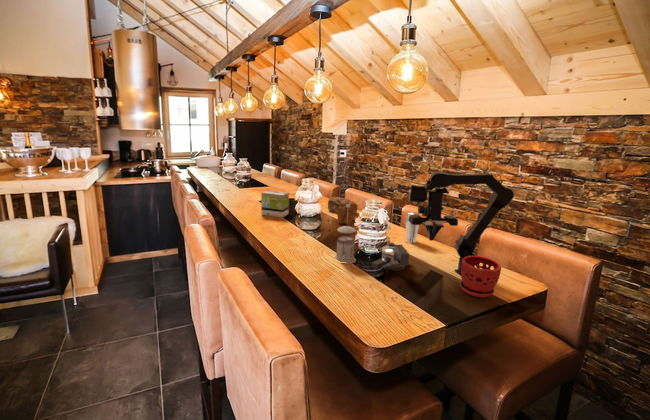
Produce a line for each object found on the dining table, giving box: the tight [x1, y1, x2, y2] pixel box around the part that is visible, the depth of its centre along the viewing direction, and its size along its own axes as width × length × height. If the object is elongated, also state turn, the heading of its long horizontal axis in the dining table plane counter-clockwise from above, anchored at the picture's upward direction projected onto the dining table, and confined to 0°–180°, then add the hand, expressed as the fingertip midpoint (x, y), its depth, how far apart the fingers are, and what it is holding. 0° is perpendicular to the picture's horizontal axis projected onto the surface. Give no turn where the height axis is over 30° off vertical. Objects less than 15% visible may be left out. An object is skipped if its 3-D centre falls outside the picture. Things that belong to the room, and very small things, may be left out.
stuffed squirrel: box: [336, 201, 360, 227], centre depth 214 cm, size 10×14×13 cm
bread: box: [327, 196, 358, 214], centre depth 240 cm, size 19×11×10 cm, turn 43°
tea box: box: [260, 189, 290, 218], centre depth 227 cm, size 15×10×15 cm
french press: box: [334, 205, 357, 264], centre depth 154 cm, size 10×12×25 cm
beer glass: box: [404, 211, 421, 244], centre depth 184 cm, size 7×7×15 cm
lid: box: [381, 242, 410, 267], centre depth 147 cm, size 23×10×5 cm, turn 3°
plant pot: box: [459, 255, 502, 298], centre depth 129 cm, size 13×13×12 cm
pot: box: [370, 251, 406, 272], centre depth 149 cm, size 23×10×6 cm, turn 139°
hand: (430, 240), depth 147 cm, fingers closed
